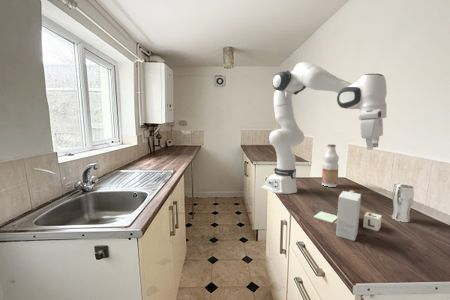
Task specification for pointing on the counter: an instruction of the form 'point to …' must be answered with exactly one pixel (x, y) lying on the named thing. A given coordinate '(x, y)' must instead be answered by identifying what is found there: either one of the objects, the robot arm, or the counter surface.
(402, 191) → the beer glass
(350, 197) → the skincare box
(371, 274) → the counter surface
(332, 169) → the fruit juice
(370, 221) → the lettered cube
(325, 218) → the pad
